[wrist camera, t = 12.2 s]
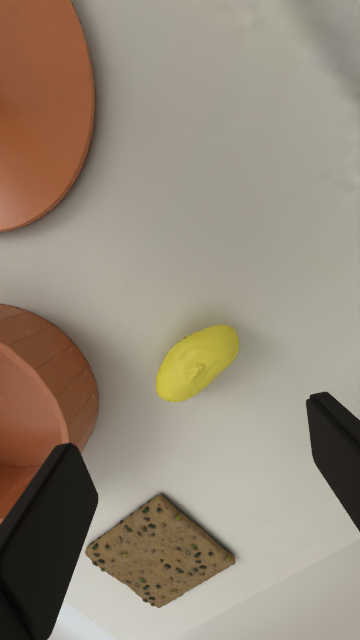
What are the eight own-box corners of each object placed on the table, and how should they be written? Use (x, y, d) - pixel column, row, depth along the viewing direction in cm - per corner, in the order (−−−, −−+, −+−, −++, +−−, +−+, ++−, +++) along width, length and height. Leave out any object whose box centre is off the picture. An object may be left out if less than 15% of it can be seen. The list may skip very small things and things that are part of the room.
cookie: (159, 604, 27) (158, 616, 26) (84, 547, 25) (80, 558, 24) (237, 557, 24) (239, 569, 24) (160, 491, 23) (159, 501, 22)
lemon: (246, 344, 19) (261, 364, 15) (173, 396, 20) (170, 426, 16) (216, 306, 18) (224, 317, 14) (143, 362, 20) (132, 385, 16)
